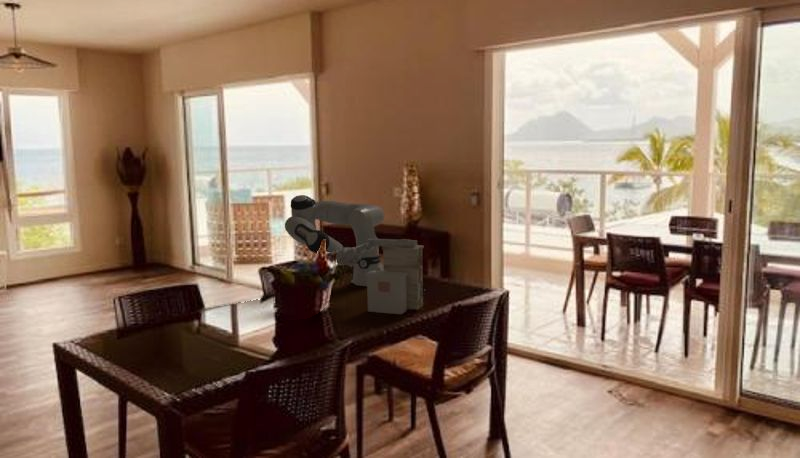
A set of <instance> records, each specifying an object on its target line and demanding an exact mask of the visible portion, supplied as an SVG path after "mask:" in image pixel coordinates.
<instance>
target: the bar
mask: <svg viewBox="0 0 800 458" xmlns="http://www.w3.org/2000/svg"><path fill="white" fill-rule="evenodd" d="M366 243H368V245H372V246H379V247H383V246H395V247H417V245H418V240H417V239H415V240H414V239H411V238H410V239H409V238H407V239H406V238H401V239H393V238H378V239H366Z"/></svg>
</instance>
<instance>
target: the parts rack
mask: <svg viewBox="0 0 800 458" xmlns="http://www.w3.org/2000/svg"><path fill="white" fill-rule="evenodd" d="M407 275H408V273H405V272H388V271H370V272H368V273H366V274H365V276H367V286H366V289H367V290H366V291H367V293H366V294H367V312H371V313H382V314H393V315H394V314H395V315H403V314H404V313H406V312H407V310H408V309H407V297H406V276H407Z"/></svg>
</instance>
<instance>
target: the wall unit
mask: <svg viewBox="0 0 800 458" xmlns="http://www.w3.org/2000/svg"><path fill="white" fill-rule="evenodd" d="M424 247H425V246H424V245H421V244H420V245H419V244H417V247H395V246H381V250H382V251H383V253H382V257H383V260H382V261H383V262H382V265H383V266H384V271H388V272H405V273H408V275H407V276H406V297H407V310H414V309H415V311H417V310H420V309H421V308H422V307H423V306H424V296H423V285H424V281H423V279H424V278H423V276H424V275H423V273H424V272H423V249H424Z"/></svg>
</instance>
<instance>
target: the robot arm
mask: <svg viewBox="0 0 800 458" xmlns="http://www.w3.org/2000/svg"><path fill="white" fill-rule="evenodd" d="M290 211H291V216H289V217H288V218H287V219H286V221H285V223H284V228H285V232H286V233H287V234H288V235H289V236H290V237H291V238H292V239H293V240H294V241H295V242H298V243H300V244H302V245H306V247H307V249H308V250H309V251H310V252H312V253H314V254H316V255H318V254H317V251H318V250H319V248H320V245H321V242H322V240H323V239H326V251H327V252H333V251H335V252H337V255H336V259H337V263H338V264H344V265H348V266H350V267H351V268H353V274H352V275H353V276H352V278H353V279H351V281H350V283H352V284H354V285H356V286H360V287H361V286H362V287H367V276H365V274H366V273H368V272H370V271H384V265H383V263H382V262H381V259H382V257H383V254H380V253H379V252H380V251H379V250H380V249H379V248H380V246H372V245H368V243H366V239H379V238H378V237H377V235H376V232H375V227H377V226H379V225H380V224H381V223H382V222H384V218H385V211H384V210H383V208H382V207H381V206H379V205H376V204H365V203H364V204H363V203H350V202H341V201H335V200H334V201H332V200H319V201H316V200H315V199H313V198H311V197H310V196H307V195H304V194H300V195H295V196H294V197H293V198H292V199H290ZM317 220H319V221H321V222H325V223H330V224H336V225H341V226H342V225H343V226H350V227H351V228H352V231H353V233H354V238H355V243H356V246H352V247H349V246H348V247H346V246H345V247H344V245H343V244H342V243H340V242H339V241H337V240H336V239H334V238H333V237H331V236H330V235H328V234H327V233H326V232H324V231H323V230H321V229H320V230H318V229H317V225H316V221H317Z"/></svg>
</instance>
